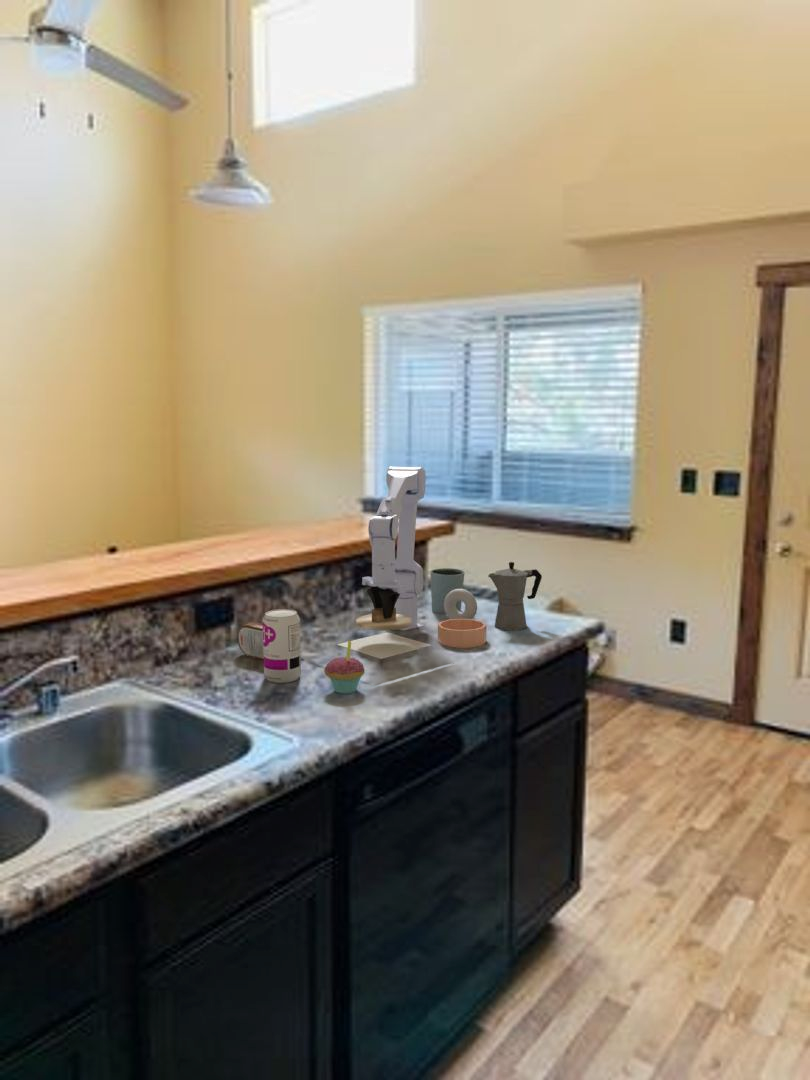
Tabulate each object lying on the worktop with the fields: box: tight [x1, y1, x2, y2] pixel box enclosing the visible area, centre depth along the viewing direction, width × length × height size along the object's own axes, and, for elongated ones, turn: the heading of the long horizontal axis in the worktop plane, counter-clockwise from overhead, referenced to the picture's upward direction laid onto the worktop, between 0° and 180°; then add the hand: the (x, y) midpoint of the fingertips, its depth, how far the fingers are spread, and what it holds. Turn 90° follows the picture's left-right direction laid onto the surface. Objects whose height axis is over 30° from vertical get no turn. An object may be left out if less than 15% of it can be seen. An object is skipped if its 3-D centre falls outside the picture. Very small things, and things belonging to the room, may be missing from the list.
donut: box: [444, 588, 478, 620], centre depth 239 cm, size 10×3×10 cm, turn 61°
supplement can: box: [262, 609, 302, 684], centre depth 191 cm, size 8×8×15 cm
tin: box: [236, 621, 264, 661], centre depth 207 cm, size 15×3×8 cm, turn 54°
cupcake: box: [323, 637, 365, 694], centre depth 183 cm, size 9×8×12 cm
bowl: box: [437, 618, 487, 649], centre depth 220 cm, size 12×12×5 cm
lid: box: [355, 607, 412, 631], centre depth 216 cm, size 14×14×4 cm
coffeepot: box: [487, 561, 543, 631], centre depth 236 cm, size 15×9×18 cm, turn 103°
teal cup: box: [429, 567, 465, 615], centre depth 254 cm, size 10×10×12 cm
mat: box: [337, 631, 432, 660], centre depth 217 cm, size 17×17×1 cm
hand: (384, 616), depth 216 cm, fingers closed on lid, 2 cm apart
